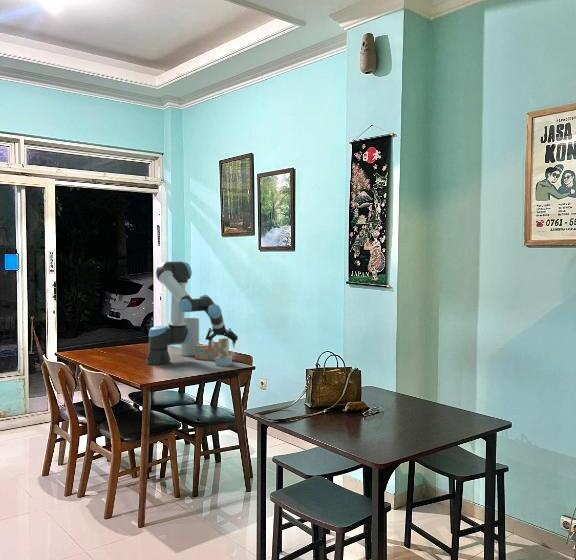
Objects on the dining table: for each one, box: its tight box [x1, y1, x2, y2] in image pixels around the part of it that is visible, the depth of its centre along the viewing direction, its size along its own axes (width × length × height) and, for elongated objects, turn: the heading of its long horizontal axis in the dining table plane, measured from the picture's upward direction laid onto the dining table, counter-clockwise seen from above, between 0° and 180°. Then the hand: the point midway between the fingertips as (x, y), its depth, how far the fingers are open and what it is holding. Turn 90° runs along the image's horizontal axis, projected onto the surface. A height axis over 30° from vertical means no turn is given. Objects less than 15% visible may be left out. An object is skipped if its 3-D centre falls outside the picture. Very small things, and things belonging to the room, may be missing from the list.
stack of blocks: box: [194, 339, 230, 361], centre depth 384 cm, size 21×6×12 cm, turn 77°
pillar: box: [218, 337, 229, 358], centre depth 364 cm, size 5×5×12 cm
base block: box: [215, 355, 233, 367], centre depth 364 cm, size 8×8×5 cm
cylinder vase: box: [180, 317, 200, 357], centre depth 400 cm, size 12×12×25 cm
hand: (223, 345), depth 366 cm, fingers open, 13 cm apart
